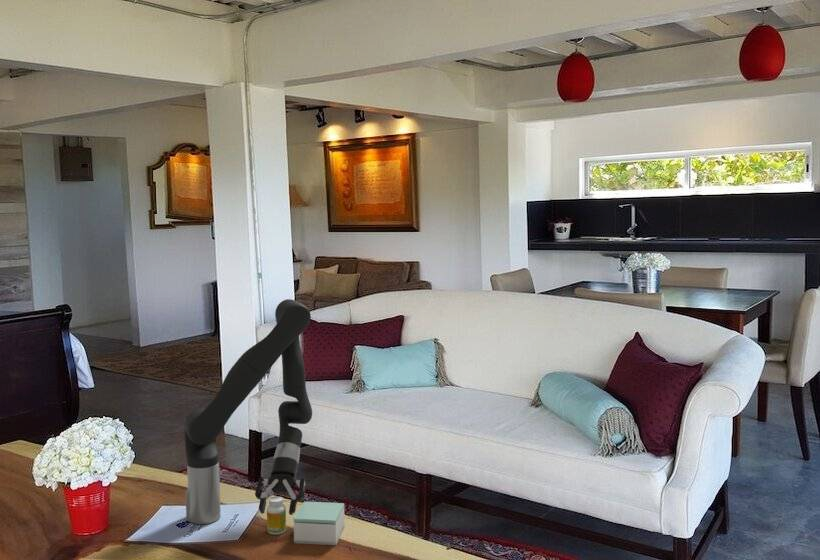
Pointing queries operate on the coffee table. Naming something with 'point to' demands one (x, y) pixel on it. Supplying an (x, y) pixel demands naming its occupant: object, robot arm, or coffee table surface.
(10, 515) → the coffee table surface
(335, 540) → the storage box
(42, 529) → the coffee table surface
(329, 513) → the lid
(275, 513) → the supplement bottle
